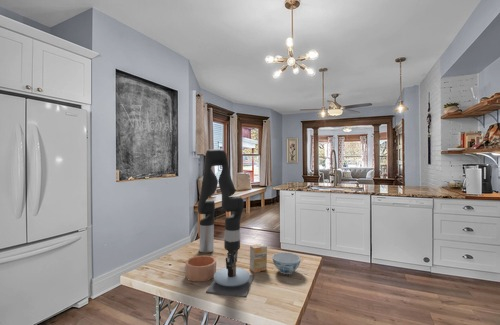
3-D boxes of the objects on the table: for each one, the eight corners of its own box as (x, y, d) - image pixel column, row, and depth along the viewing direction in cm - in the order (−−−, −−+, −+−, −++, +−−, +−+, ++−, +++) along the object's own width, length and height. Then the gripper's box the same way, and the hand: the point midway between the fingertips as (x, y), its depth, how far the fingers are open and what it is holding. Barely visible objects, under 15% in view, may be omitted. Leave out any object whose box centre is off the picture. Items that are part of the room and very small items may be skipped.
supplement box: (253, 273, 127) (254, 248, 127) (249, 269, 131) (249, 245, 131) (267, 270, 131) (267, 246, 131) (262, 266, 135) (262, 243, 135)
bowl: (193, 267, 133) (193, 254, 133) (219, 269, 130) (219, 256, 130) (180, 279, 118) (180, 265, 118) (209, 283, 115) (209, 268, 116)
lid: (220, 268, 125) (220, 257, 125) (252, 271, 122) (252, 260, 122) (208, 284, 108) (208, 271, 108) (245, 288, 105) (245, 275, 105)
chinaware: (305, 271, 129) (306, 257, 129) (290, 281, 118) (290, 265, 118) (282, 263, 140) (283, 250, 140) (266, 271, 129) (266, 257, 129)
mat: (220, 272, 126) (220, 271, 126) (253, 276, 123) (253, 275, 123) (206, 292, 107) (206, 291, 107) (245, 297, 103) (246, 295, 103)
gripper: (228, 233, 123) (228, 267, 123) (220, 242, 109) (219, 280, 109) (243, 234, 122) (242, 269, 121) (236, 243, 108) (235, 282, 107)
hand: (231, 274), depth 115 cm, fingers closed on lid, 4 cm apart
